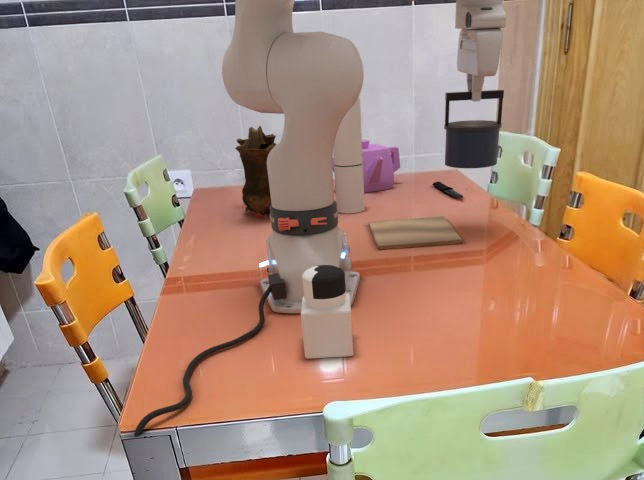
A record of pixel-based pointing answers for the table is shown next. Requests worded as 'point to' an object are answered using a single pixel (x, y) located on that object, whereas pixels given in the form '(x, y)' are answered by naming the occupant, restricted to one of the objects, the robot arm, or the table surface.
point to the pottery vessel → (256, 170)
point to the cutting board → (413, 232)
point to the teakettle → (378, 166)
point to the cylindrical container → (349, 163)
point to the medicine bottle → (326, 313)
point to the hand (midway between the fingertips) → (473, 100)
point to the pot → (472, 135)
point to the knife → (447, 189)
